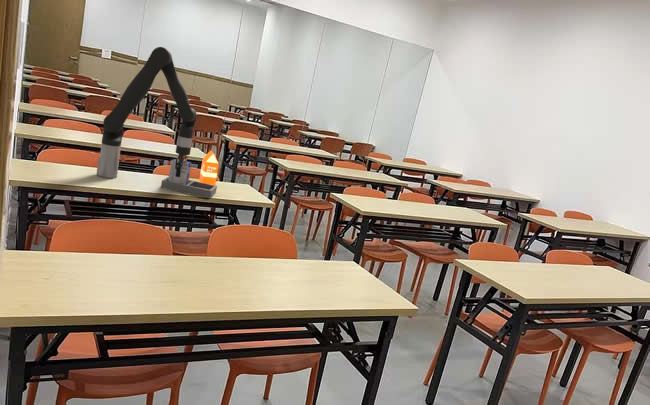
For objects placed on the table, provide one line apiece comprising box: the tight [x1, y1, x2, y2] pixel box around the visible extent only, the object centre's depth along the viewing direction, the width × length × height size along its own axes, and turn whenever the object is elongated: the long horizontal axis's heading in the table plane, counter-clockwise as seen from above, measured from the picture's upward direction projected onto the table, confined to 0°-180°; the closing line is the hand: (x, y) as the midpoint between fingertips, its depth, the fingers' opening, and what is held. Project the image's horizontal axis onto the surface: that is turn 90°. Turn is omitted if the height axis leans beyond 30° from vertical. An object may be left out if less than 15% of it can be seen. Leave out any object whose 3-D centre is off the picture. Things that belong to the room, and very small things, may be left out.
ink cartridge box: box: [168, 157, 192, 185], centre depth 263 cm, size 10×6×14 cm, turn 89°
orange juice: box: [198, 150, 219, 185], centre depth 283 cm, size 8×9×20 cm
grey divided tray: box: [160, 176, 218, 199], centre depth 265 cm, size 27×14×4 cm, turn 91°
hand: (179, 175), depth 264 cm, fingers closed on ink cartridge box, 5 cm apart
